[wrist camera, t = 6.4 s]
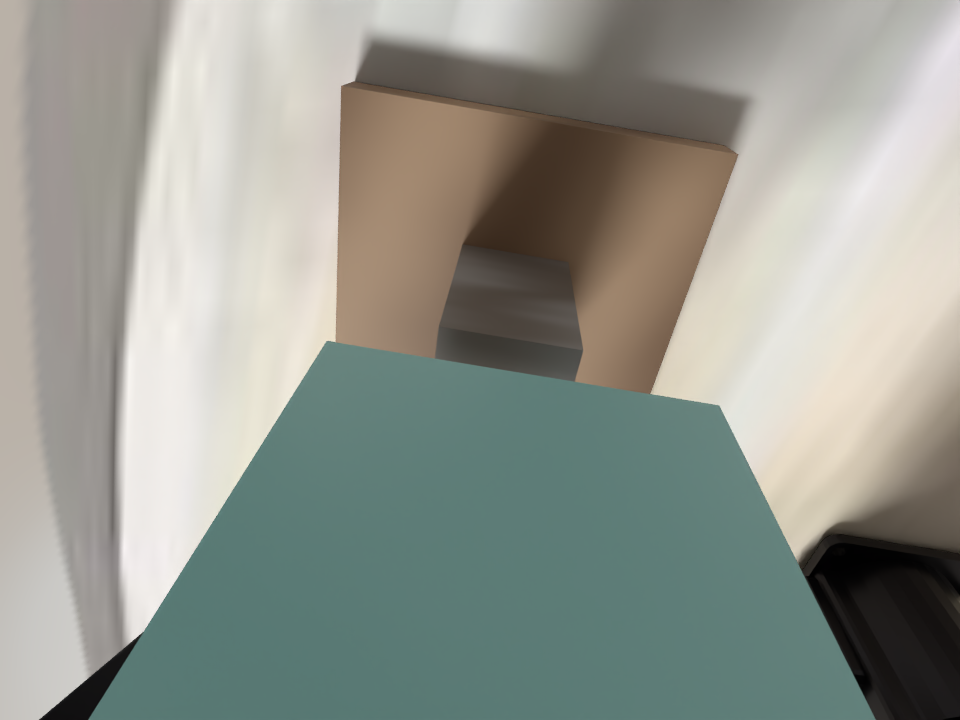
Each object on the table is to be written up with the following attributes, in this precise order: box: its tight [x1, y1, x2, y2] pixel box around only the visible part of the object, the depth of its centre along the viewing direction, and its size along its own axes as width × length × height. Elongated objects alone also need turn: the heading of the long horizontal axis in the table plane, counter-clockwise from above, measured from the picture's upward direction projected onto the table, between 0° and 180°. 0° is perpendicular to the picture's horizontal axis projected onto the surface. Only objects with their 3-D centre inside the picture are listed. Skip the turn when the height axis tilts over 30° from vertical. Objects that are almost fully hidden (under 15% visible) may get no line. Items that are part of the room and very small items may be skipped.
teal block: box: [89, 341, 876, 720], centre depth 7 cm, size 6×6×6 cm
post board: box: [336, 82, 738, 394], centre depth 15 cm, size 10×10×6 cm
